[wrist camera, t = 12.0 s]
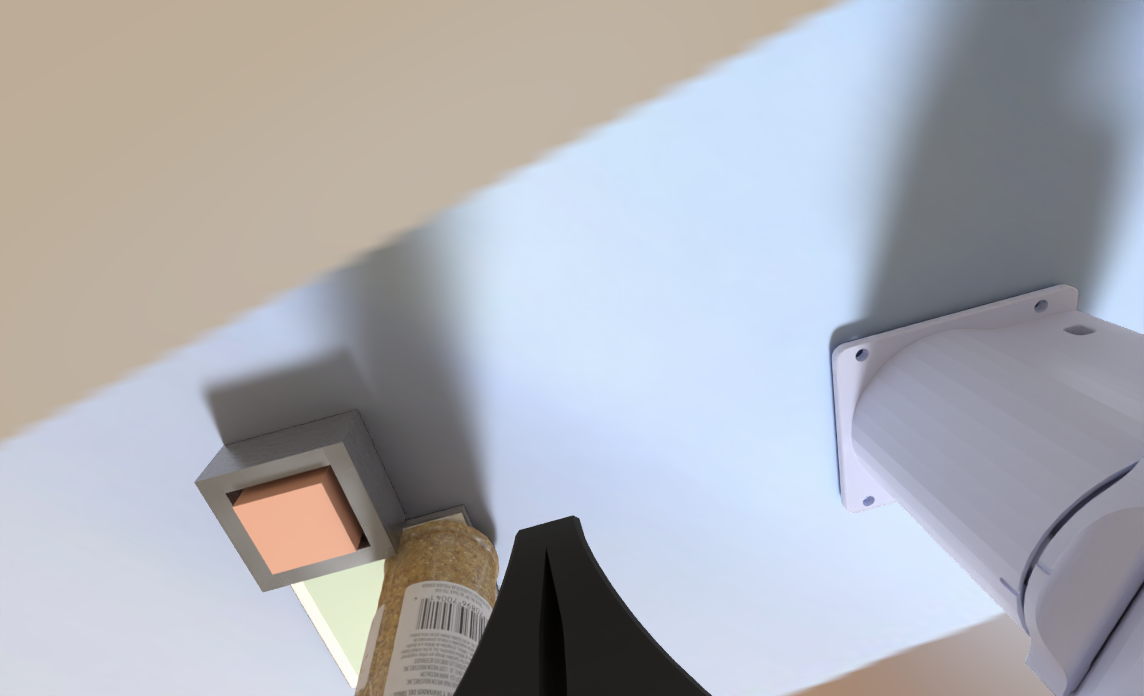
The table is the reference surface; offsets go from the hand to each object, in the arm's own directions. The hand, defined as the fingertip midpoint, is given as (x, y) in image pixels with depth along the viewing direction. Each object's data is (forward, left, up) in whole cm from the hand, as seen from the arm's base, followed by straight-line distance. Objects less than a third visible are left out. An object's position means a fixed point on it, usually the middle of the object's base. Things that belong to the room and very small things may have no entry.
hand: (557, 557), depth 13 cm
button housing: (+9, +2, -9) cm, 13 cm away
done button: (+9, +2, -9) cm, 13 cm away
